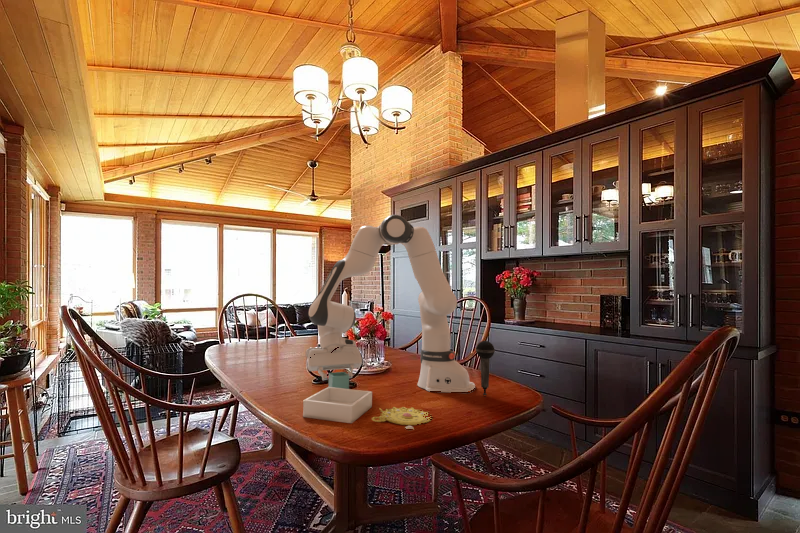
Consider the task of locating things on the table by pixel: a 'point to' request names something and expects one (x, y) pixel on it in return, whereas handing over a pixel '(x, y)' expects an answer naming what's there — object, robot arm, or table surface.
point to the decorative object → (403, 416)
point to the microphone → (485, 362)
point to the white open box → (337, 404)
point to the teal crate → (339, 380)
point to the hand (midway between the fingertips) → (337, 378)
